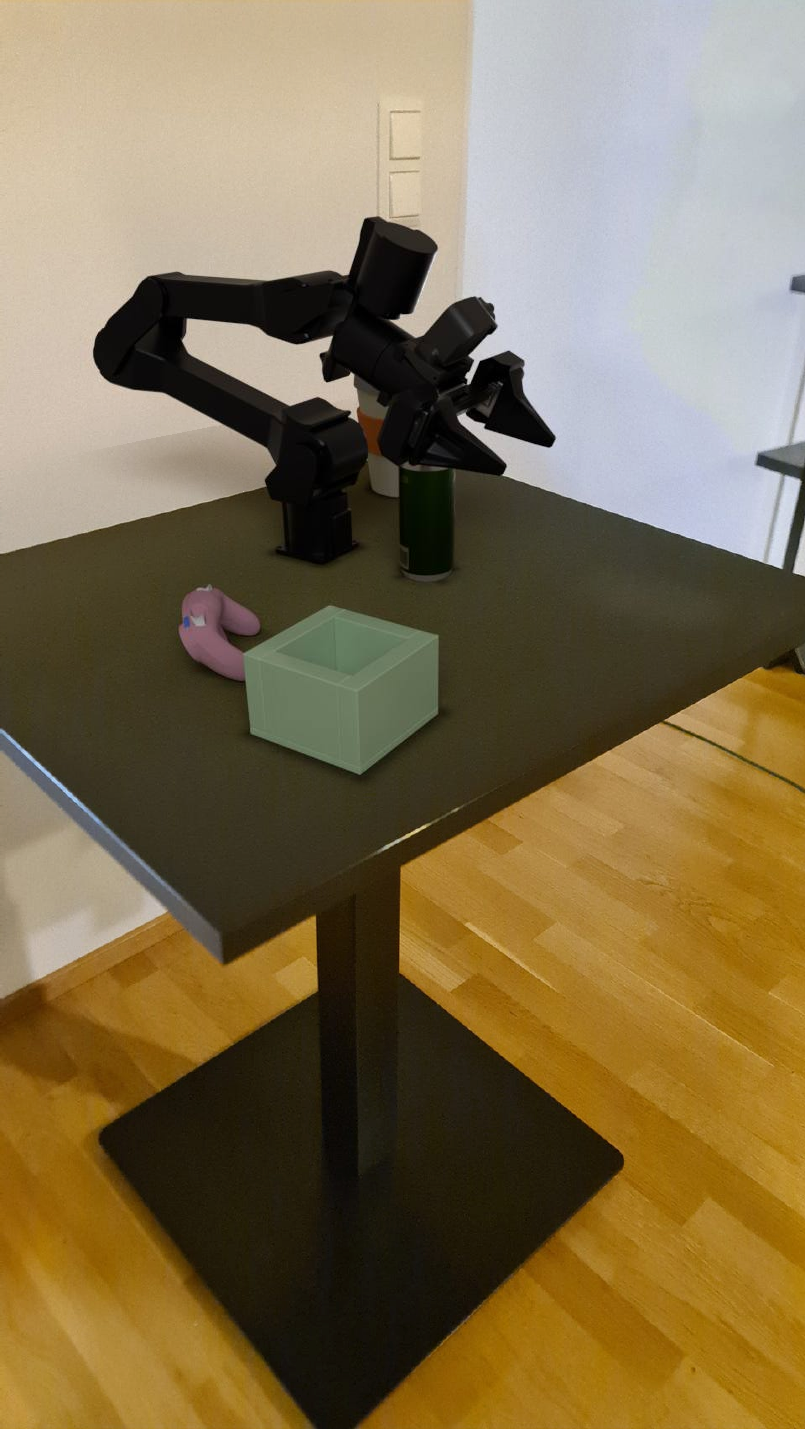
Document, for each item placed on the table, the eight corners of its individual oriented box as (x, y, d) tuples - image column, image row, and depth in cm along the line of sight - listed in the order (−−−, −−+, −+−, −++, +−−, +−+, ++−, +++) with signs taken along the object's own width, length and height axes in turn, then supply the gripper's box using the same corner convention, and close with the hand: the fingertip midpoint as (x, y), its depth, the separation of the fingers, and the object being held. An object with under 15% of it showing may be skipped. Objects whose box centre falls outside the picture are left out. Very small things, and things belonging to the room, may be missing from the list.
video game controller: (220, 648, 90) (176, 585, 87) (265, 625, 90) (221, 560, 86) (212, 703, 82) (162, 635, 79) (261, 678, 81) (213, 608, 78)
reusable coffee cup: (461, 472, 130) (463, 349, 123) (456, 503, 119) (458, 371, 112) (363, 470, 131) (360, 348, 124) (350, 501, 121) (345, 370, 113)
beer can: (419, 587, 98) (419, 464, 92) (389, 569, 102) (387, 450, 96) (464, 575, 101) (467, 454, 95) (433, 558, 105) (433, 441, 99)
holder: (250, 733, 75) (242, 653, 72) (333, 679, 82) (329, 604, 79) (360, 775, 70) (357, 691, 67) (438, 713, 77) (439, 635, 74)
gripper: (359, 293, 80) (516, 399, 77) (478, 263, 94) (616, 352, 90) (320, 415, 88) (462, 517, 84) (435, 371, 101) (561, 457, 98)
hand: (529, 456), depth 89 cm, fingers open, 9 cm apart
